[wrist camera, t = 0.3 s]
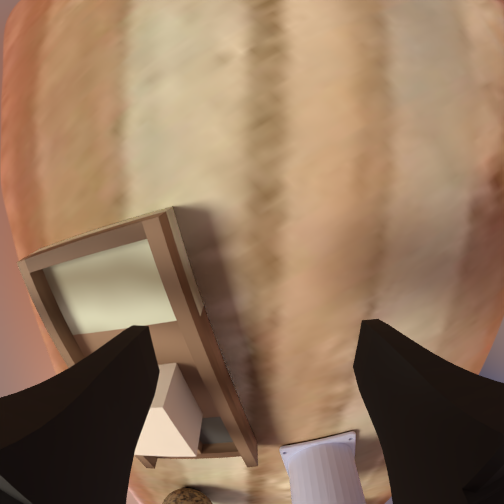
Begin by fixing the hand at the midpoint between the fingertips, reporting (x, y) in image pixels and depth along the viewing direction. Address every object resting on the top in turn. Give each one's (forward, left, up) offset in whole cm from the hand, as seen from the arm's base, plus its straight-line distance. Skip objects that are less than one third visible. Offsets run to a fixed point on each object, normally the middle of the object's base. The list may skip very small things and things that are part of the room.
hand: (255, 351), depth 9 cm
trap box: (-8, +10, -10) cm, 16 cm away
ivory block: (-9, +10, -8) cm, 16 cm away
